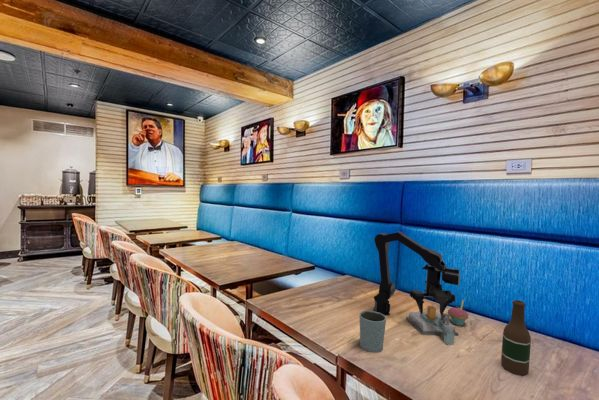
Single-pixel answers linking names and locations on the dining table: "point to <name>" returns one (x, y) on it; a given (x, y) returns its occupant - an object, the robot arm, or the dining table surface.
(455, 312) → the cupcake
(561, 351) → the dining table surface
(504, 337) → the beer bottle
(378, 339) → the grey cup
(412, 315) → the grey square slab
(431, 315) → the orange upright bar
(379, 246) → the robot arm
